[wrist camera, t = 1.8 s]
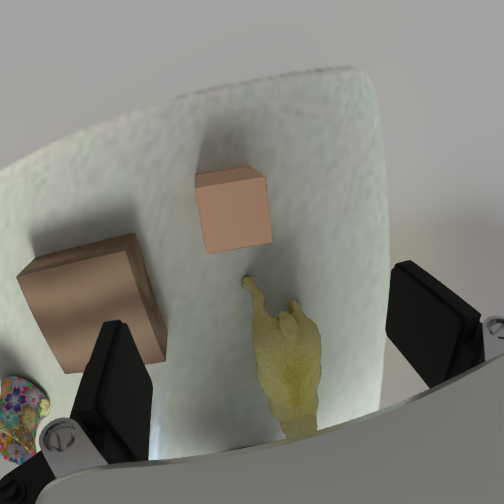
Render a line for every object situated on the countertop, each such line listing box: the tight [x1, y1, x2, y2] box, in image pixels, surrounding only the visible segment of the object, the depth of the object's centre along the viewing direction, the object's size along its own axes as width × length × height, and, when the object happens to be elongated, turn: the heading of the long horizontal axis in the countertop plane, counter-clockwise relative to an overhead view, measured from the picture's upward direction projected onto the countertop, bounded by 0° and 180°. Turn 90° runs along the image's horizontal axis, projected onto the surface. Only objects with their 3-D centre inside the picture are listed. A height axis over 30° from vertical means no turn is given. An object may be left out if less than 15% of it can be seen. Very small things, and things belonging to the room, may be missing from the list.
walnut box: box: [16, 233, 168, 374], centre depth 29 cm, size 12×12×5 cm
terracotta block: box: [195, 166, 273, 254], centre depth 26 cm, size 5×5×7 cm
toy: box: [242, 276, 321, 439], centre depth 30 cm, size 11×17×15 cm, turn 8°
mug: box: [0, 376, 50, 465], centre depth 30 cm, size 12×9×11 cm
